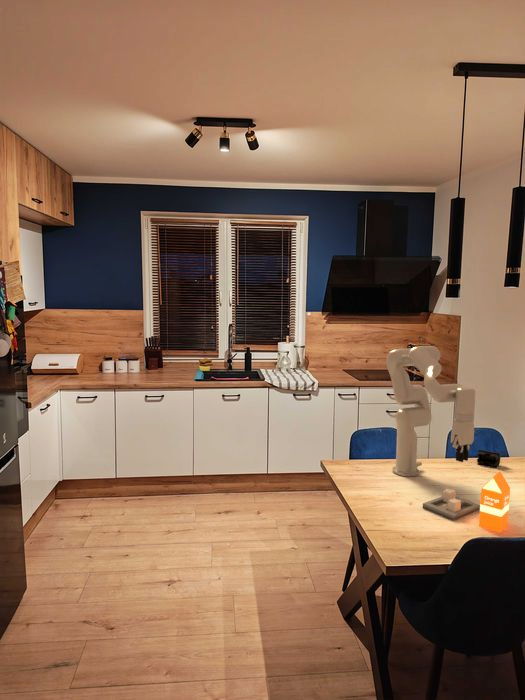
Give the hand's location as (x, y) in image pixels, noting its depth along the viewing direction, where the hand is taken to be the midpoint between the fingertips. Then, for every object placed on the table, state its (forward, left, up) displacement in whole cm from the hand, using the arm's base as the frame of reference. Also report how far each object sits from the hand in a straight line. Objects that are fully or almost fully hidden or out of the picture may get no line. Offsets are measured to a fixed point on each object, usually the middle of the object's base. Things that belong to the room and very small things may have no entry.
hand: (461, 460), depth 212 cm
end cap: (-52, -18, -17) cm, 58 cm away
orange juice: (+11, +21, -17) cm, 30 cm away
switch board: (+11, +4, -17) cm, 21 cm away
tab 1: (+8, 0, -16) cm, 18 cm away
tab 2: (+14, +7, -16) cm, 23 cm away
